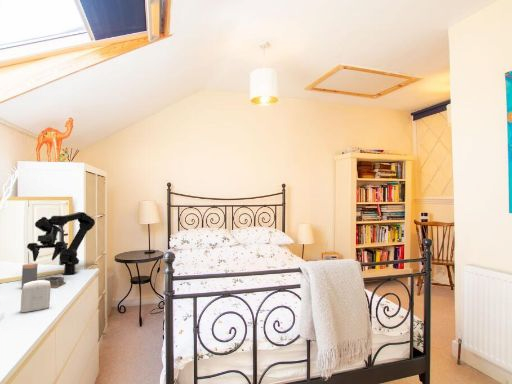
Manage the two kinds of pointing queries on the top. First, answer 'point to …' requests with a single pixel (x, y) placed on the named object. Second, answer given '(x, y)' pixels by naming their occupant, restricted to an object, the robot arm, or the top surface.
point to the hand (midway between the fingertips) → (43, 260)
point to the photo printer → (35, 295)
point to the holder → (56, 281)
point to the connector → (29, 273)
